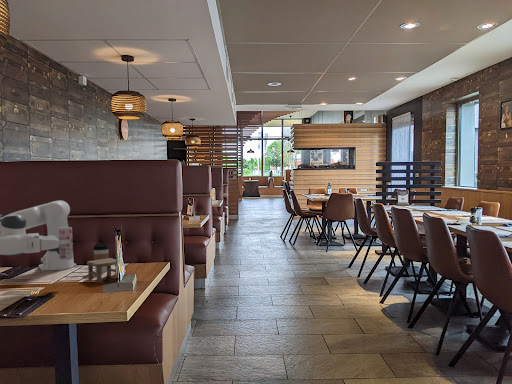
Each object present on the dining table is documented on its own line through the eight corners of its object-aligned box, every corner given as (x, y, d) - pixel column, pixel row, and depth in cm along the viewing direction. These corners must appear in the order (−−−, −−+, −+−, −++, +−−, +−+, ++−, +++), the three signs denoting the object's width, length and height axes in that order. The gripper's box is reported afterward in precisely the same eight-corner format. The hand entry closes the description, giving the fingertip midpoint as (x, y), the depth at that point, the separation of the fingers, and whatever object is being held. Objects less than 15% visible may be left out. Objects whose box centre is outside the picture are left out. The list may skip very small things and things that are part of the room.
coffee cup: (112, 269, 223) (111, 243, 222) (105, 273, 214) (104, 245, 214) (98, 269, 223) (97, 243, 223) (90, 273, 215) (89, 245, 215)
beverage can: (71, 257, 193) (70, 226, 192) (74, 259, 188) (73, 227, 188) (58, 258, 189) (57, 227, 189) (61, 260, 185) (60, 228, 184)
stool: (87, 279, 201) (87, 261, 201) (110, 274, 210) (109, 257, 210) (98, 282, 193) (97, 264, 193) (121, 278, 202) (120, 260, 201)
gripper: (33, 246, 191) (65, 244, 198) (36, 252, 173) (70, 249, 181) (33, 233, 191) (65, 231, 198) (35, 238, 173) (70, 235, 180)
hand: (67, 240), depth 189 cm, fingers closed on beverage can, 6 cm apart
